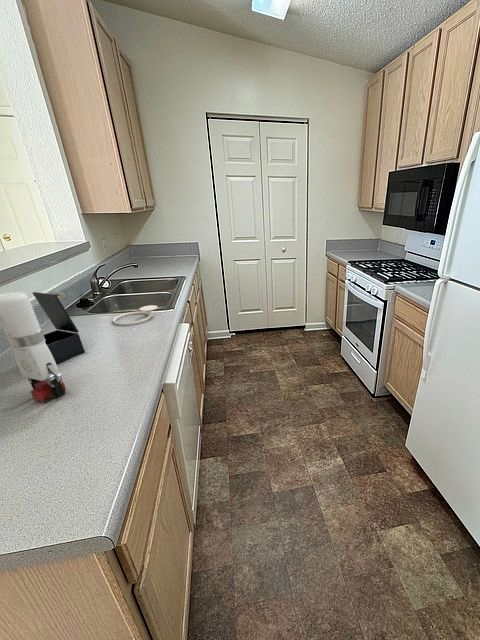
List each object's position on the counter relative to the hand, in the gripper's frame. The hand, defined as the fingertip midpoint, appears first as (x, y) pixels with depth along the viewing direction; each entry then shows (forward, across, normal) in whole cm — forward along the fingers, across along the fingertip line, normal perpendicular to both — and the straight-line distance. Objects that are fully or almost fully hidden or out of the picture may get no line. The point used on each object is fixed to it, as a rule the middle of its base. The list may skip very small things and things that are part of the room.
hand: (50, 393), depth 98 cm
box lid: (-15, -24, +24) cm, 37 cm away
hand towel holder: (+1, -29, +62) cm, 68 cm away
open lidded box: (+1, -24, +18) cm, 30 cm away
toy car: (+1, 0, 0) cm, 1 cm away
